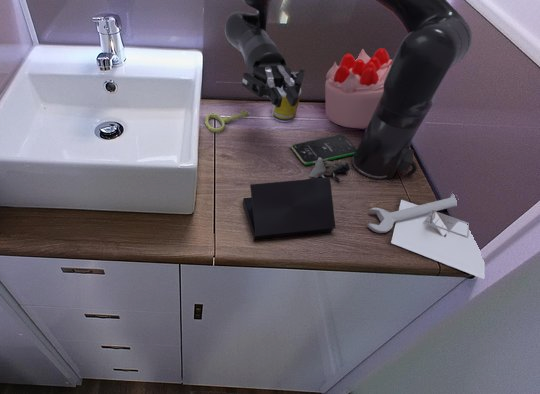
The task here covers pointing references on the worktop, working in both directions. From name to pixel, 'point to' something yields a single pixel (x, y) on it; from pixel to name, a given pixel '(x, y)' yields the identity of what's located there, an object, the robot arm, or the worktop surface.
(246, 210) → the laptop
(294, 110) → the pill bottle
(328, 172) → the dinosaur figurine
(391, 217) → the wrench
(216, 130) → the key
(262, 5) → the robot arm
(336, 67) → the cake
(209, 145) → the worktop surface
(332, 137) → the smartphone
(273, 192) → the laptop screen
